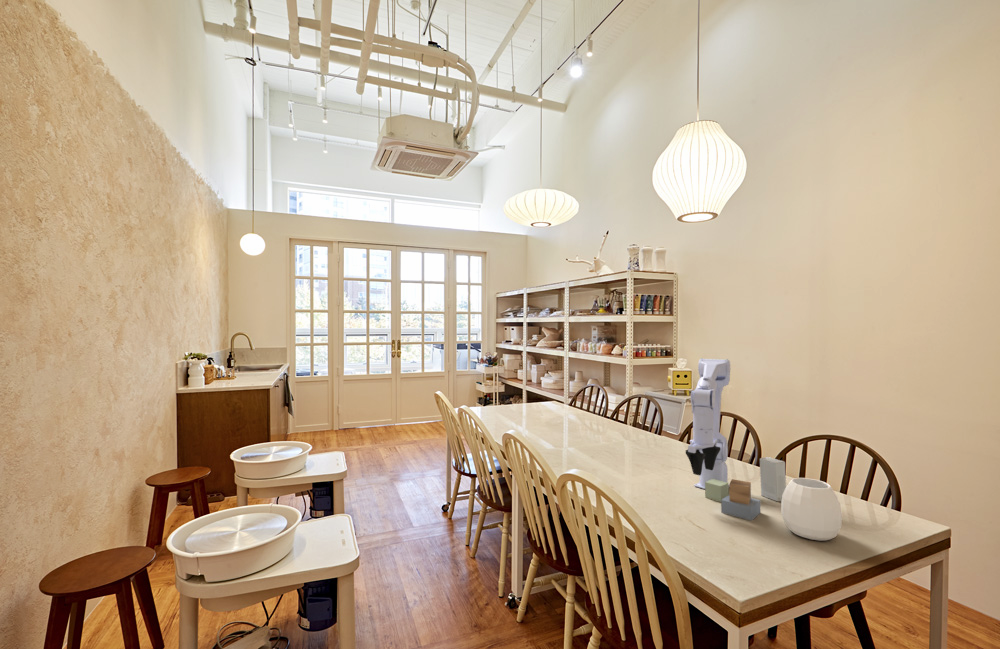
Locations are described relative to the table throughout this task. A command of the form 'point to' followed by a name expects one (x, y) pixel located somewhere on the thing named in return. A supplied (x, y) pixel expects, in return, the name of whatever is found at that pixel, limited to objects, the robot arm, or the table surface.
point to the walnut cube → (740, 491)
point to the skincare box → (772, 478)
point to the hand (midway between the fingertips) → (703, 471)
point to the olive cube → (716, 489)
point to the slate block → (740, 508)
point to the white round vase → (811, 509)
